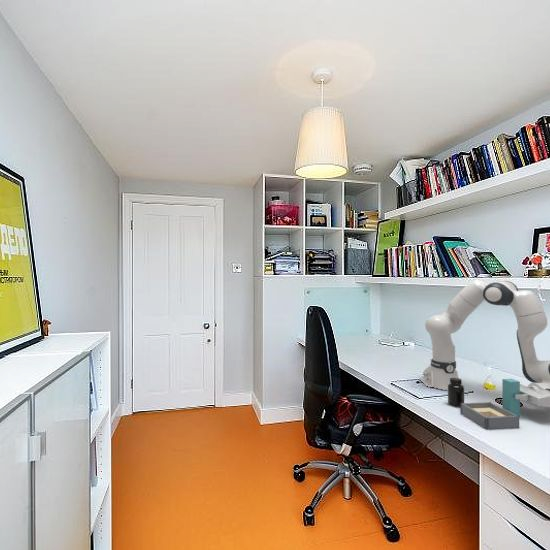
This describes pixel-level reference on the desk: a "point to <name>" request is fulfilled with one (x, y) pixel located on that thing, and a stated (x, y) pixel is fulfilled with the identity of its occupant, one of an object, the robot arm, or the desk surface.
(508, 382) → the peg
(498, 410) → the open box
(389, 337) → the desk surface
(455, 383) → the supplement bottle
